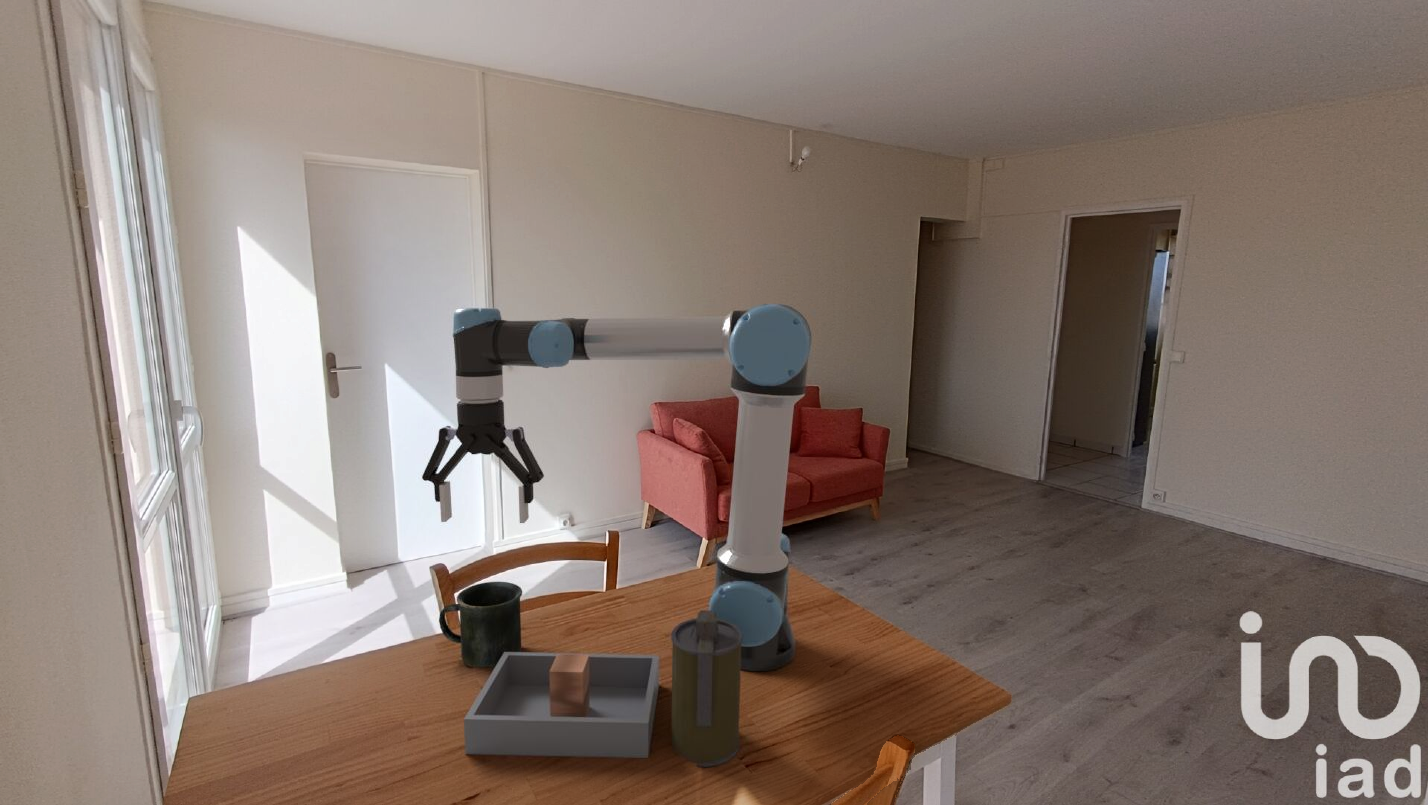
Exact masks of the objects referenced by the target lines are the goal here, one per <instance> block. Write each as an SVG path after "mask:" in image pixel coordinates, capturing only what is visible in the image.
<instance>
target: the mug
mask: <svg viewBox="0 0 1428 805" xmlns="http://www.w3.org/2000/svg"><path fill="white" fill-rule="evenodd" d="M522 595H523V590H522V588H521V586H519V585H517V584H515V583H512V582H507V581H488V582H487V581H486V582H482V583H481V582H480V583H477V584H474V585H471V586H469V587H467V588H465V589H463V590H462V591H460V592H459V593H458V594H457V596H456V603H452V604H448V605H445V606H444V608H443V609H442V610H441V611H440V612H439V618H438V622H439V627H440V629H441V632H442V634H443V636H444V637H445V638H446V639H447V640H449V641H450V642H453V643H457V644H460V650H461V659H462V661H463V663H464V664H465V665H467V666H468V667H470V668H474V667H475V668H492V667H494V668H495V667H496V665H497V663H498V662H499V660H500V658H501V657H502V655H503V653H504V652H522V628H521V627H522V626H521V622H522V620H521V619H522V618H521V597H522ZM449 612H459V623H460V624H459V627H460V634H456V633H455V632H453V630H451V628H450V627H449V625H448V623H447V620H446V613H449Z"/></svg>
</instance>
